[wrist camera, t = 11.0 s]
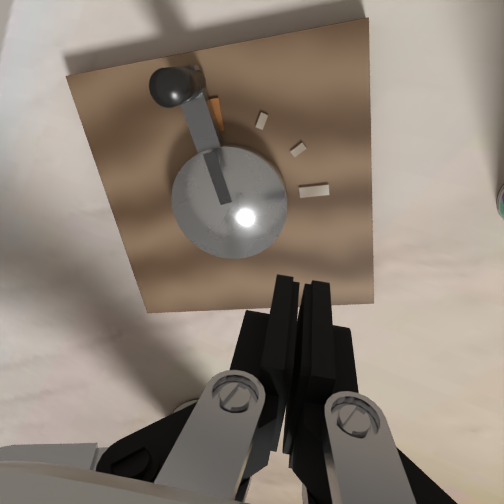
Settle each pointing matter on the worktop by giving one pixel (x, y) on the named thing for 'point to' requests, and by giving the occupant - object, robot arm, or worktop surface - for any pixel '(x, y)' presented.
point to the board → (259, 138)
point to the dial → (220, 177)
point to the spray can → (501, 202)
